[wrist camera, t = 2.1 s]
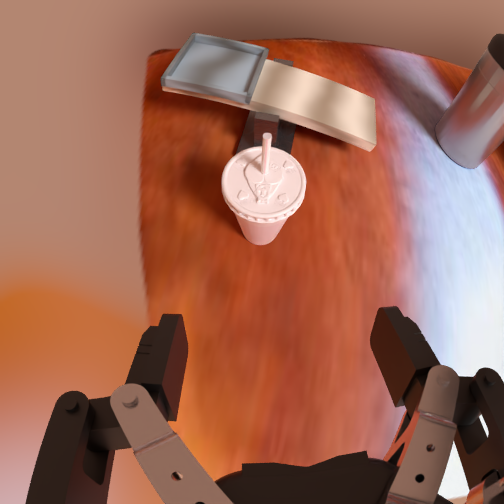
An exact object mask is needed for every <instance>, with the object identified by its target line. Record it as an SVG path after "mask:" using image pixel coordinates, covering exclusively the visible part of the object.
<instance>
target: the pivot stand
mask: <svg viewBox="0 0 504 504" xmlns="http://www.w3.org/2000/svg"><path fill="white" fill-rule="evenodd" d="M274 62H278V63H281V64H285V65H288V66H291V67H293V61H288V60H282V59H276V58H274ZM279 117H280V116H279V115H274V114H268V113H262V112H256V111H252V110H250V113H249V116H248V119H247V122H246V125H245V128H244V131H243V134H242V137H241V140H240V143H239V146H238V149H237V152H236V154H238V153H239V152H241V151H243V150H245V149H248V148H252V147H258V146H262V143H263V134H265V133H270V134H271V135H272V139H271V147H274V148H277V149H280V150H283V151H285V152H287V153H288V154H290V153H291V148H292V143H293V139H294V134H295V129H296V124H295V123H292V122H289V121H286V120H283V119H279Z"/></svg>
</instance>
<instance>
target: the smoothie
mask: <svg viewBox="0 0 504 504" xmlns="http://www.w3.org/2000/svg"><path fill="white" fill-rule="evenodd" d="M271 139H272V135H271V134H270V133H265V134H263V143H262V146H258V147H252V148H248V149H245V150H243V151H241V152H239V153H238V154H236V155H235V156H234V157H232V158H231V159H230V161H229V162H228V163H227V165H226V166H225V168H224V171H223V174H222V193H223V196H224V199H225V202H226V203H227V205H228V206H229V207H230V209H231V210H232V211H233V212H234V213H235V215H236V218H237V220H238V222H239V225H240V227H241V230H242V232H243V234H244V236H245V238H246V239H247V240H248V241H249V242H251V243H253V244H256V245H265V244H268V243H270V242H271V241H273V240H274V239H275V237H276V236H277V234H278V232H279V231H280V229H281V228H282V226H283V224H284V223H285V221H286V220H287V218H288V217H289V216H290V215H292V214H293V213H294V212H295V211H296V210H297V209H298V208H299V207H300V205H301V203H302V201H303V199H304V194H305V189H306V177H305V174H304V171H303V169H302V167H301V165H300V164H299V163H298V161H297V160H296V159H295V158H294V157H292V156H291V155H290V154H288V153H287V152H285V151H283V150H280V149H277V148H274V147H271Z"/></svg>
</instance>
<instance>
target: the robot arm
mask: <svg viewBox="0 0 504 504" xmlns="http://www.w3.org/2000/svg"><path fill="white" fill-rule="evenodd" d="M435 133H436V137H437V139H438V142H439V144H440V145H441V147H442V149H443V150H444V151H445V152H446V154H447V155H448V156H449V157H450V158H451V159H452V160H454V161H455V162H456V163H458V164H459V165H461V166H463V167H465V168H469V169H474V168H477V167H478V166H479V165H480V164H481V163H482V162H483V161H484V160H485V159H486V158H487V157H488V156H489V155H490V154H491V153H492V152H493V151H494V150H495V149H496V148H497V147H498V146H499V145H500V144H501V143H502V142H503V141H504V34H496V35H495V36H494V37H493V38H492V40H491V42H490V43H489V45H488V47H487V48H486V50H485V52H484V53H483V55H482V57H481V59H480V60H479V62H478V63H477V65H476V67H475V68H474V70H473V71H472V73H471V74H470V76H469V77H468V79H467V81H466V82H465V84H464V85H463V87H462V88H461V90H460V91H459V93H458V94H457V96H456V97H455V99H454V100H453V102H452V103H451V105H450V106H449V108H448V109H447V110H446V112H445V113H444V115H443V116H442V118H441V119H440V120H439V122H438V123H437V125H436V128H435ZM370 345H371V349H372V351H373V353H374V356H375V358H376V361H377V363H378V365H379V368H380V370H381V373H382V375H383V378H384V380H385V383H386V385H387V388H388V390H389V393H390V395H391V398H392V400H393V403H394V406H395V407H399V406H404V405H405V407H406V409H407V410H406V411H405V413H404V415H403V418H402V420H401V423H400V426H399V428H398V431H397V433H396V435H395V438H394V440H393V442H392V445H391V447H390V449H389V451H388V452H387V454H386V456H385V457H384V459H383V460H380V459H376V458H368V455H367V451H362V452H357V453H352V454H346V455H340V456H336V457H334V458H331V459H329V460H326V461H323V462H321V463H318V464H315V465H312V466H309V467H302V466H294V465H287V464H280V463H246V464H242V470H241V471H237V472H234V473H231V474H228V475H226V476H223V477H221V478H220V479H218V480H216V481H215V482H214V481H213V480H212V478H211V477H210V476H209V475H208V474H207V472H206V471H205V470H204V469H203V467H202V466H201V465H200V464H199V462H198V461H197V460H196V459H195V457H194V456H193V455H192V453H191V452H190V451H189V449H188V448H187V447H186V445H185V444H184V443H183V441H182V440H181V438H180V437H179V436H178V435H177V434H176V433H174V431H173V430H172V429H171V427H170V426H169V424H168V423H167V422H168V421H176V420H177V414H178V408H179V402H180V396H181V390H182V384H183V379H184V373H185V368H186V363H187V357H188V342H187V337H186V332H185V327H184V321H183V317H182V315H181V314H163V315H162V317H161V320H160V323H159V326H150V327H149V328H148V329H147V330H146V331H145V332H144V334H143V335H142V338H141V340H140V343H139V346H138V348H137V351H136V354H135V357H134V360H133V362H132V365H131V368H130V371H129V374H128V377H127V380H126V383H125V385H122V386H120V387H118V388H117V389H116V390H115V391H114V392H113V394H112V395H111V396H109V397H104V398H97V399H89V400H88V398H87V397H86V395H85V394H83V393H82V392H79V391H69V392H67V393H64V394H63V395H62V396H61V397H59V399H58V400H57V402H56V404H55V407H54V410H53V412H52V415H51V418H50V421H49V423H48V426H47V429H46V432H45V435H44V439H43V441H42V445H41V447H40V451H39V454H38V457H37V461H36V465H35V468H34V472H33V475H32V479H31V483H30V487H29V491H28V495H27V499H26V504H107V497H108V490H109V484H110V477H111V471H112V465H113V460H114V455H115V450H118V449H126V448H133V450H134V455H135V457H136V459H137V461H138V462H139V464H140V466H141V467H142V469H143V471H144V472H145V474H146V476H147V477H148V479H149V480H150V482H151V484H152V485H153V487H154V488H155V490H156V491H157V493H158V494H159V496H160V497H161V499H162V500H163V502H164V503H165V504H453V503H452V502H450V501H448V500H447V499H445V498H444V497H442V496H440V495H439V494H437V493H438V490H439V487H440V485H441V482H442V479H443V476H444V473H445V469H446V466H447V463H448V459H449V456H450V452H451V449H452V445H453V441H454V442H455V445H456V448H457V451H458V454H459V457H460V460H461V463H462V467H463V470H464V473H465V476H466V480H467V483H468V487H469V490H470V492H469V494H468V496H467V501H466V502H465V504H504V382H503V381H502V379H501V377H500V376H499V374H498V373H497V372H496V371H494V370H493V369H490V368H481V369H479V370H478V371H477V373H476V375H475V376H474V377H463V376H458V375H457V373H456V372H455V371H454V370H453V369H452V368H450V367H448V366H444V365H441V364H440V363H439V361H438V359H437V358H436V356H435V354H434V352H433V351H432V349H431V347H430V346H429V344H428V342H427V341H426V339H425V337H424V336H423V334H421V331H420V329H419V328H418V326H417V324H416V323H414V322H413V321H412V320H411V319H410V318H408V317H404V316H403V315H402V313H401V311H400V310H399V308H398V307H397V306H391V307H381V308H379V309H378V311H377V315H376V318H375V322H374V325H373V329H372V332H371V336H370ZM481 414H482V416H483V418H484V421H485V423H486V425H487V428H488V431H489V435H488V438H487V435H486V433H485V431H484V428H483V426H482V423H481V421H480V419H479V416H480V415H481Z"/></svg>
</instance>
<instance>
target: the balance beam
mask: <svg viewBox="0 0 504 504" xmlns="http://www.w3.org/2000/svg"><path fill="white" fill-rule="evenodd" d="M268 51H269V49H268V48H264V47H260V46H257V45H253V44H248V43H244V42H240V41H235V40H231V39H226V38H221V37H215V36H210V35H204V34H198V33H192V35H191V36H190V37H189V39H188V40H187V41H186V43H185V44H184V45H183V47H182V48H181V49H180V51H179V52H178V54H177V55H176V56H175V58H174V59H173V61H172V62H171V63H170V65H169V66H168V68H167V69H166V71H165V72H164V74H163V75H162V77H161V86H162V89H163V91H168V92H174V93H179V94H184V95H189V96H194V97H199V98H204V99H208V100H213V101H217V102H221V103H225V104H229V105H233V106H237V107H241V108H245V109H248V110H252V111H256V112H262V113H268V114H274V115H279V116H280V117H279V119H283V120H286V121H289V122H292V123H295V124H298V125H301V126H304V127H307V128H310V129H313V130H315V131H318V132H321V133H324V134H327V135H329V136H332V137H335V138H337V139H340V140H342V141H345V142H347V143H350V144H352V145H355V146H357V147H360V148H362V149H365V150H367V151H369V152H370V151H371V150H372V149H373V148H374V147H375V146H376V116H375V99H374V98H371V97H369V96H367V95H365V94H363V93H360V92H358V91H356V90H353V89H351V88H349V87H346V86H344V85H341V84H339V83H336V82H334V81H331V80H328V79H326V78H323V77H320V76H318V75H315V74H312V73H309V72H306V71H303V70H300V69H297V68H294V67H291V66H288V65H285V64H281V63H278V62H274V61H271V60H267V59H266V58H267V55H268Z"/></svg>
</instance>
